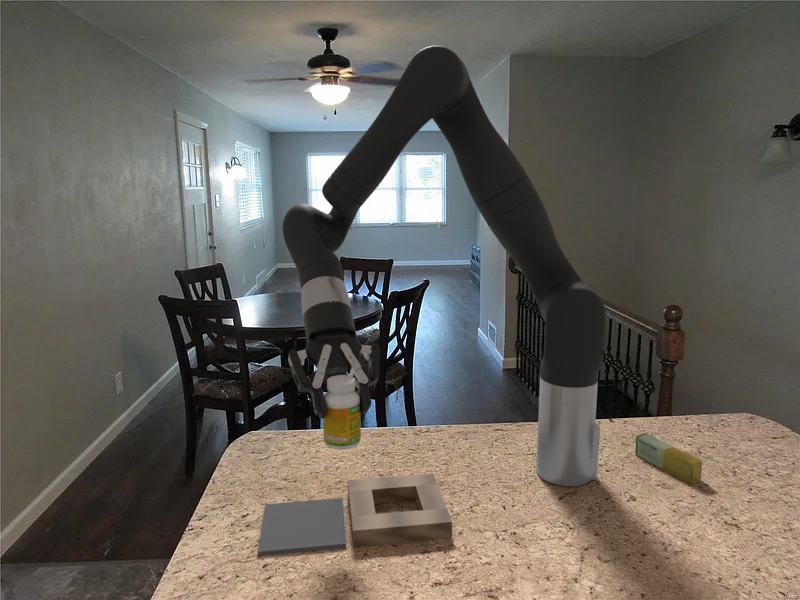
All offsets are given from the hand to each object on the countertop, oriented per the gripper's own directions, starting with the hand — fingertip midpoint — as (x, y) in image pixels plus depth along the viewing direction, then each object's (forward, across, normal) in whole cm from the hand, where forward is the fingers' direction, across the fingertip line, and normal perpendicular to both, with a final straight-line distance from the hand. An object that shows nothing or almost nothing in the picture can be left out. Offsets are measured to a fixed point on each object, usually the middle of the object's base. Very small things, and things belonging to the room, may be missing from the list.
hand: (344, 413), depth 84 cm
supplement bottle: (+3, 0, +5) cm, 6 cm away
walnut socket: (+12, +8, +13) cm, 19 cm away
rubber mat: (+11, -6, +14) cm, 19 cm away
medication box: (+12, +57, +12) cm, 60 cm away
